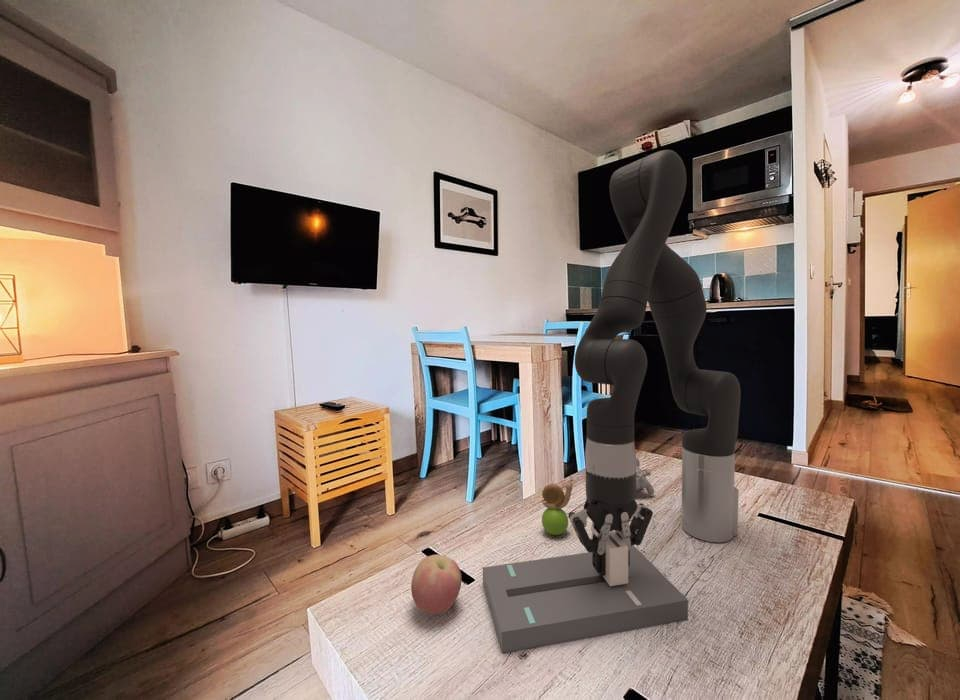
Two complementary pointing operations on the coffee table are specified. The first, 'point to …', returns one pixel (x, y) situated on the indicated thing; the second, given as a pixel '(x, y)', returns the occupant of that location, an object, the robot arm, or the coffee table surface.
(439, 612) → the apple
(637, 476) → the grey animal figurine
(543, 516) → the snail figurine
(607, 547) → the fader
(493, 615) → the fader console
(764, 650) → the coffee table surface
